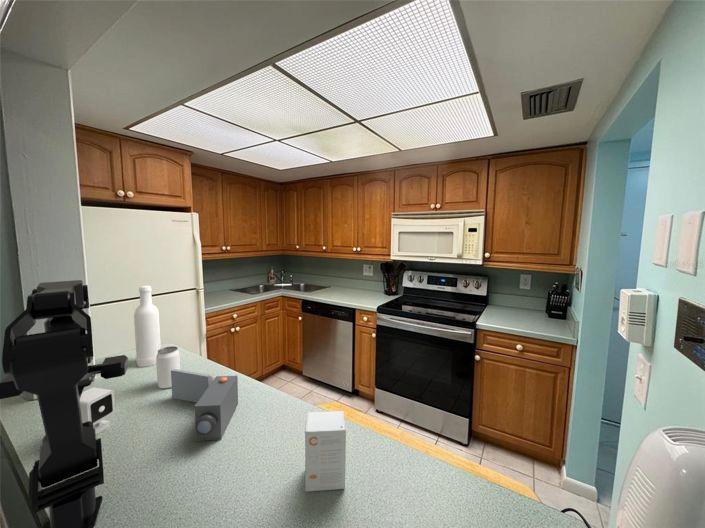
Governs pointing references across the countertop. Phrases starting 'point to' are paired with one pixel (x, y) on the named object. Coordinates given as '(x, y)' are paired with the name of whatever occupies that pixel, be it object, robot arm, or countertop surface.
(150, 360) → the bottle
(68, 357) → the robot arm
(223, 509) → the countertop surface
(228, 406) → the camera body
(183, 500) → the countertop surface
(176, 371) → the side door
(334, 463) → the small box
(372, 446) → the countertop surface
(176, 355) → the can
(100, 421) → the security camera
